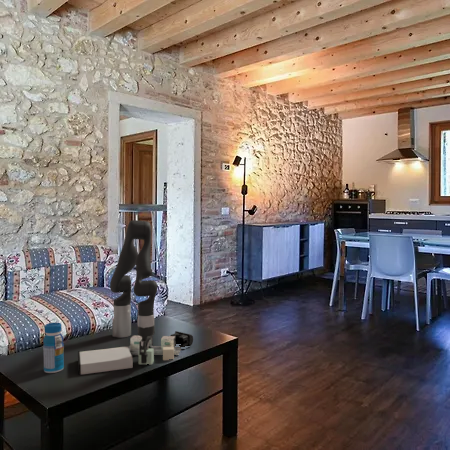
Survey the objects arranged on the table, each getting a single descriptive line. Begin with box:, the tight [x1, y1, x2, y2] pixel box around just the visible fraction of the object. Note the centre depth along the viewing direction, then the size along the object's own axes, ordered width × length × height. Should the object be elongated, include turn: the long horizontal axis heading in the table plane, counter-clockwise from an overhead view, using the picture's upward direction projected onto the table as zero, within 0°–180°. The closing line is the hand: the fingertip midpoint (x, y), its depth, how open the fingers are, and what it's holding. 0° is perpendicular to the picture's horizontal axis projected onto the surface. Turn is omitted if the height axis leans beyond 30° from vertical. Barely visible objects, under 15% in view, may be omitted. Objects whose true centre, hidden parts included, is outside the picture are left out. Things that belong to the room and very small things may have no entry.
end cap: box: [169, 331, 194, 347], centre depth 213 cm, size 10×7×7 cm
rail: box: [128, 334, 182, 356], centre depth 203 cm, size 26×7×8 cm, turn 86°
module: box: [137, 348, 155, 366], centre depth 190 cm, size 6×4×6 cm
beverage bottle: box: [42, 322, 65, 374], centre depth 182 cm, size 8×8×20 cm
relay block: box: [162, 347, 175, 361], centre depth 196 cm, size 5×4×5 cm
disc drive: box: [77, 345, 134, 376], centre depth 189 cm, size 18×22×5 cm
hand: (146, 359), depth 190 cm, fingers open, 8 cm apart
